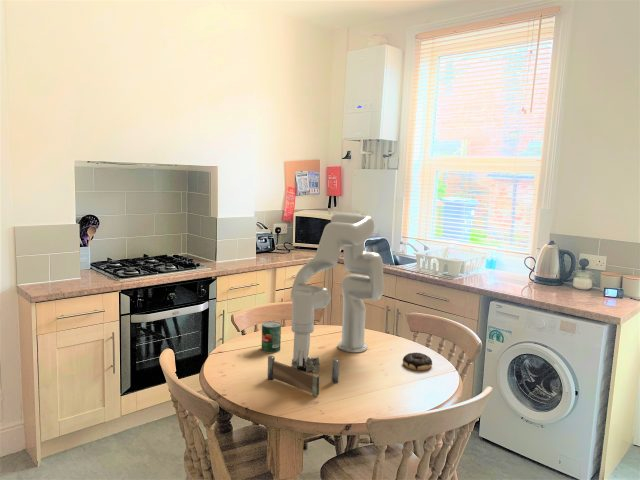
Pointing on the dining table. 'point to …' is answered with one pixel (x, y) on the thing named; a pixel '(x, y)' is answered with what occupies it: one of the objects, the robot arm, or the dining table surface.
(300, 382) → the gate
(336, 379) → the gate posts
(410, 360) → the donut
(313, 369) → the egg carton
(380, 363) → the dining table surface
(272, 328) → the canned tomato
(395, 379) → the dining table surface
